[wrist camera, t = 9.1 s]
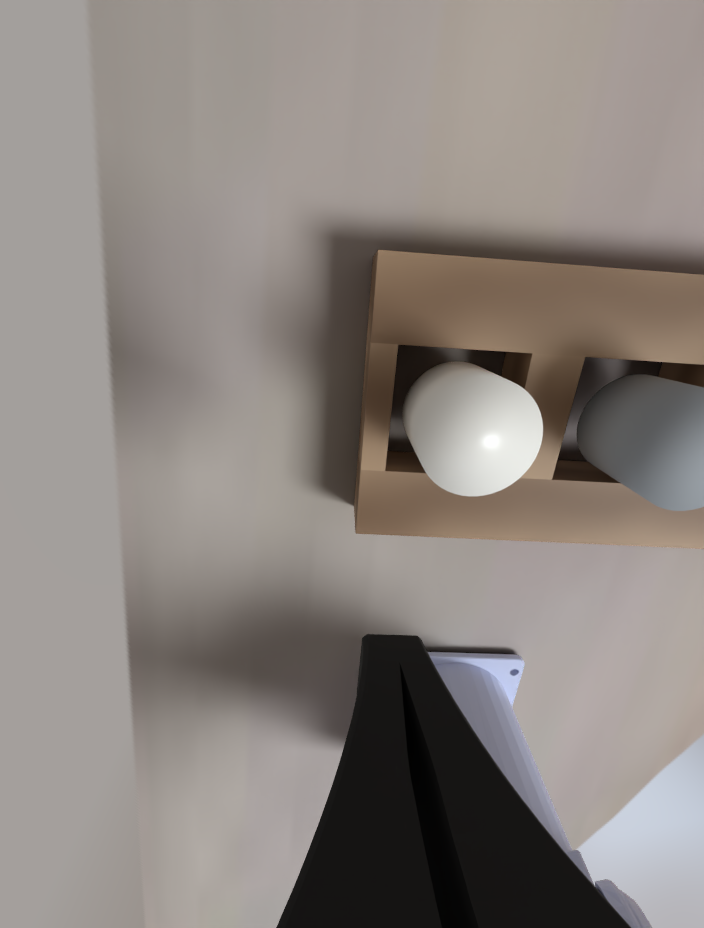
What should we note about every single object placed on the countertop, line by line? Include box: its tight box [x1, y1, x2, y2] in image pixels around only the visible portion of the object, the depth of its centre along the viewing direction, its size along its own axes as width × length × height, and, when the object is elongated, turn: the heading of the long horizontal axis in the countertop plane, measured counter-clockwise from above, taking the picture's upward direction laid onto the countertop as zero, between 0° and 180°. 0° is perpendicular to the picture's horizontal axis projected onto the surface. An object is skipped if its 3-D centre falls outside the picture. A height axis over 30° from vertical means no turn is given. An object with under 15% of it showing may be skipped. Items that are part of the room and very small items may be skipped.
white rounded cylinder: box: [402, 361, 543, 496], centre depth 15 cm, size 4×4×4 cm
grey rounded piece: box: [577, 374, 704, 511], centre depth 15 cm, size 4×4×4 cm
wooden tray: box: [354, 250, 704, 549], centre depth 17 cm, size 11×21×2 cm, turn 86°
